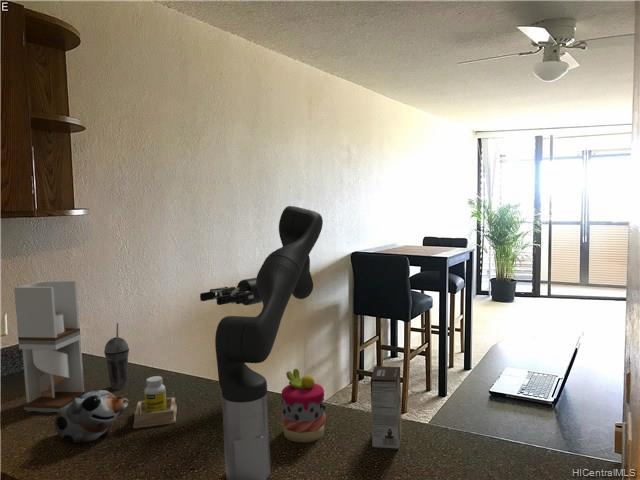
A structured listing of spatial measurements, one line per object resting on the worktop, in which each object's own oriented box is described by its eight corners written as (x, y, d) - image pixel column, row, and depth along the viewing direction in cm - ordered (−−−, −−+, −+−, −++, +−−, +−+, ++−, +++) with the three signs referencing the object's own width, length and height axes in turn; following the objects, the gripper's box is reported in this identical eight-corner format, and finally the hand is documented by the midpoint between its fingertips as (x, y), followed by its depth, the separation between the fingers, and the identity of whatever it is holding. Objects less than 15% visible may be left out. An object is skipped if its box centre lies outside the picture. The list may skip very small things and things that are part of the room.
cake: (330, 425, 128) (328, 366, 127) (319, 445, 118) (317, 381, 117) (290, 421, 131) (288, 364, 130) (276, 440, 121) (274, 378, 120)
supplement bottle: (145, 419, 133) (142, 383, 132) (146, 411, 138) (144, 376, 138) (166, 416, 135) (164, 380, 134) (167, 408, 140) (165, 373, 139)
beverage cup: (101, 390, 157) (96, 326, 156) (117, 381, 164) (112, 320, 162) (121, 392, 155) (116, 327, 153) (136, 383, 162) (132, 321, 160)
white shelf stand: (24, 411, 143) (14, 287, 140) (50, 396, 153) (41, 281, 150) (60, 412, 141) (51, 287, 138) (84, 397, 151) (76, 280, 148)
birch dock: (175, 422, 132) (174, 411, 132) (133, 428, 130) (132, 416, 130) (177, 406, 143) (176, 395, 143) (137, 410, 141) (137, 400, 140)
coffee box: (375, 429, 125) (373, 365, 124) (401, 431, 124) (400, 366, 122) (371, 447, 116) (369, 378, 115) (400, 449, 115) (398, 379, 113)
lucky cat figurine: (110, 415, 138) (127, 373, 135) (118, 449, 129) (138, 405, 126) (49, 415, 129) (67, 370, 125) (54, 451, 120) (73, 404, 116)
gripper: (241, 275, 156) (194, 283, 145) (270, 280, 146) (222, 288, 135) (242, 300, 157) (196, 309, 146) (272, 306, 147) (223, 316, 136)
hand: (208, 299), depth 140 cm, fingers open, 8 cm apart
